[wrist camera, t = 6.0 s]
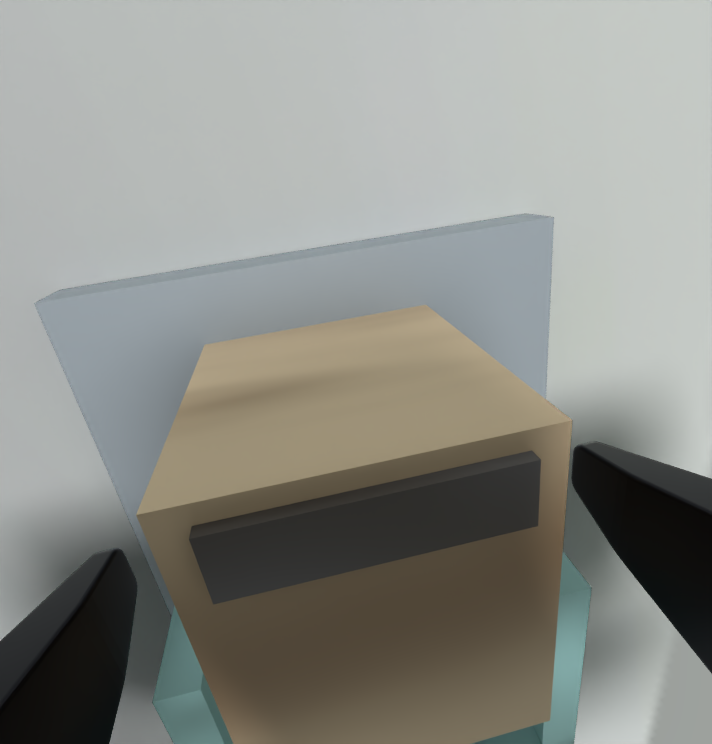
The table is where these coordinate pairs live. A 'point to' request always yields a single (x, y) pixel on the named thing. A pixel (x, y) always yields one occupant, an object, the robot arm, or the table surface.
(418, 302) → the dock
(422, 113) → the table surface
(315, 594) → the cardboard box with slot
